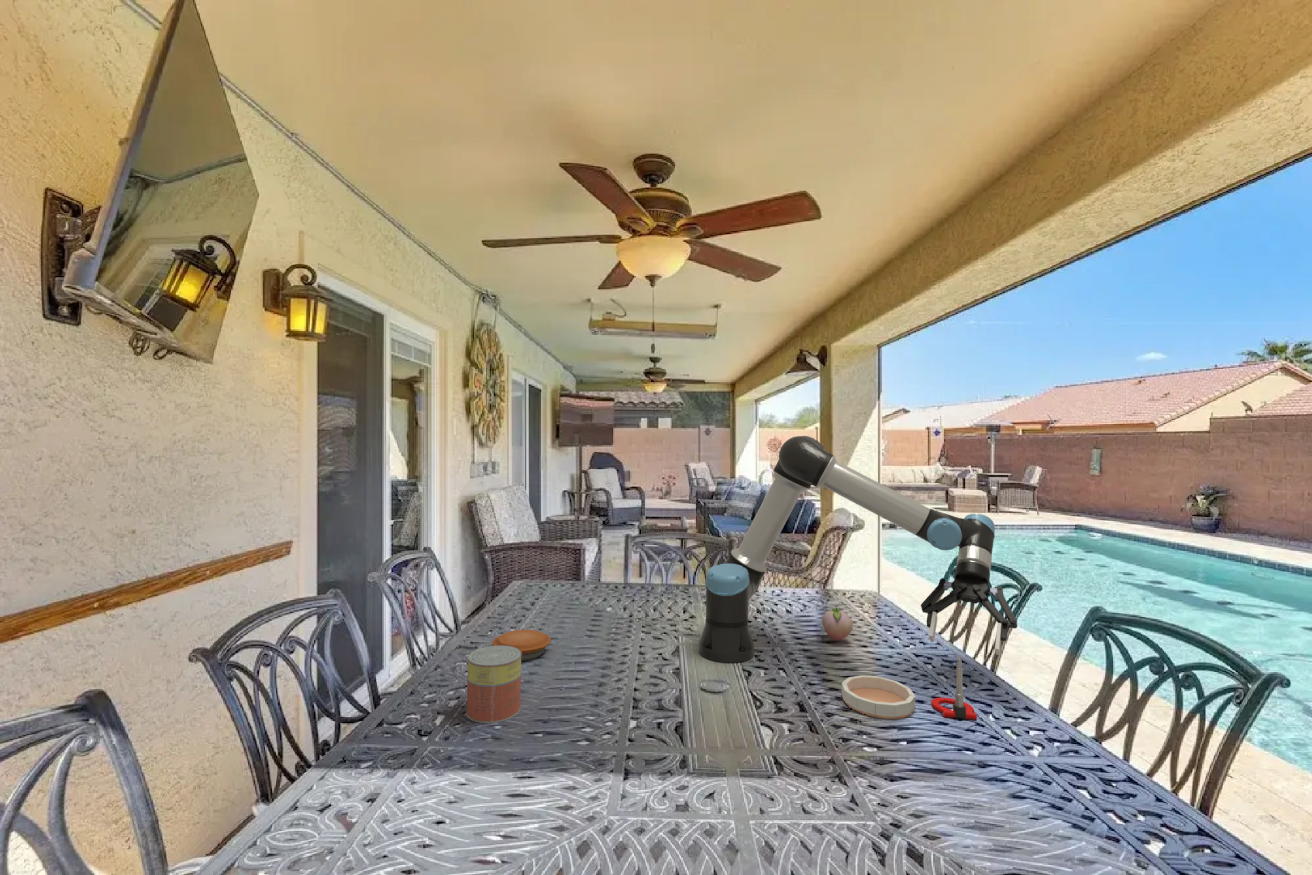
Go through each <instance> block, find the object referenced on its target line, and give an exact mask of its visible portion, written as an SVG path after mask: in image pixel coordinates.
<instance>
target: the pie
mask: <svg viewBox="0 0 1312 875" xmlns="http://www.w3.org/2000/svg"><path fill="white" fill-rule="evenodd" d="M551 641H552V639H551V637H550V635H549V634H547V633H544V632H542V631H540V630H539V631H538V630H534V629H516V630H512V631H507V632H504V633H502V634H501V635H499V636H497V637H495V638H494V639H493V641H492V642H491V643H492V644H491V646H497V645H504V646H512V647H515V648H518V649H519V650H520V651H521V652H522V655H521V662H526V661H531V660H534V659H537V658H538V657H540V656H541V655H542V654H543V653H544V651H545V649H546V648H547V647H548V645H549V644H550V642H551Z"/></svg>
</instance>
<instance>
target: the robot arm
mask: <svg viewBox="0 0 1312 875" xmlns="http://www.w3.org/2000/svg"><path fill="white" fill-rule="evenodd" d="M772 472H773V475H774V479H773V481H772V483H771V485H770V487H769V489H768V492H767V493H766V495H765V496H764V498H763V501H762V503H761V505H760V507H759V509H757V510H758V511H757V512H756V514H755V516H754V518H753V520H752V521H751V524H750V526H749V527H748V529H747V531H746V534H745V535H744V537H743V539H742V541H741V543H740V545H739V547H738V548H735V549H732V550H731V551H730V553H729V554H728V557H727V559H726V560H725V563H720V564H715V565H713V566H711V567H710V568H709V569H708V570H707V572H706V578H705V585H706V587H705V589H706V590H705V596H706V597H705V625H704V627H703V630H702V633H701V636H700V640H699V642H698V643H699V644H698V652H699V654H700V655H701V656H702V657H704V658H706V659H708V660H712V661H715V662H719V663H741V662H746V661H749V660H751V659H753V657H754V655H755V646H754V645H755V644H754V641H753V639H752V635H751V632H750V629H749V601H751V599H752V597H753V596H754V595H755V594H756V593H757V592H758V590H759V588H760V584H761V581H762V580H763V578H764V575H765V574H766V571H767V566H766V561H767V559H768V557H769V555H770V552H771V551H772V549H773V548H774V546H775V544H776V541H777V539H778V538H779V536H780V534H781V532H782V530H783V529H784V526H785V525H786V523H787V521H788V519H789V517H790V515H791V513H792V512H793V509H794V508H795V506H796V504H797V502H798V500H799V499H800V497H801V494H802V493H803V492H806V491H808V490H810V489H811V487H815V488H818V489H819V488H821V487H822V488H825V489H827V490H829V491H831V492H833V493H835V494H836V495H838V496H840V497H843V498H845V499H846V500H848V501H850V502H852V503H854V504H855V505H857V506H860V507H862V508H864V509H865V510H867V511H869V512H871V513H873V514H874V515H876V516H879V517H880V518H882V519H883V520H886V521H888V522H889V523H892V524H894V525H895V526H898V527H899V528H901V529H903V530H905V531H907V532H909V533H910V534H913V535H914V536H917V537H918V538H920V539H921V540H924V541H926V542H927V543H929V544H930V545H931V546H932V547H934V548H936V549H937V550H941V551H951V550H954V549H956V548H958V554H957V559H956V560H957V561H956V567H955V574H954V580H952V582H950V581H947V580H946V579H945V578H942V577H941V578H940V579H939V582H938V585H937V586H936V587H935V588H934V589H933V591H931V593H930V594H929V595H928V596H927V597H926V598H925V600H924V601H922V603H921V604H920V608H921V611H922V613H924V614H927V616H926V626H927V627H928V628H929V632H928V638H929V641H930V642H932V643H934V642H935V637H936V632H937V631H936V629H937V625H938V624H937V623H938V614H939V613H942V611H944V610H945V609H947V608H948V607H950V606H951V605H953V604H954V603H957V602H958V603H959V601H961V602H963V603H971V604H975V605H976V604H979V603H980V604H981V605H982V607H983V608H984V609H986V610H987V612H988V613H989V614H990V615H991V616H992V617H993V619H994V620H995V621H996V622H997V624H996V633H995V634H996V636H995V647H994V650H995V655H998V656H1000V654H1001V647H1002V646H1001V645H1002V641H1003V642H1006V641H1007V639H1008V631H1009V629H1017V628H1018V620H1017V618H1016V616H1015V614H1014V612H1013V610H1012V609H1011V607H1010V605H1009V603H1008V601H1007V600H1006V597H1005V595H1004V590H1003V587H1002V586H1000V585H999V586H997V587H990V579H991V569H992V559H993V556H992V555H993V549H994V548H993V547H994V541H995V535H996V534H995V528H996V527H995V523H994V521H993V520H992V519H991V518H990V517H989V516H987V515H985V514H982V513H978V514H976V513H970V514H966V515H965V517H964V518H962V517H958V516H954V515H951V514H948V513H945V512H942V511H938V510H934V509H933V508H929V507H928V506H925V505H923V504H921V503H919V502H917V501H915V500H913V499H911V498H909V497H908V496H906V495H904V494H902V493H899V492H898V491H895V490H893V489H891V488H890V487H889V486H886V485H884V484H883V483H880V482H878V481H877V480H874V479H872V478H871V477H869V476H867V475H864V474H863V473H861V472H859V471H857V470H855V469H854V468H851V467H850V466H847V465H845V464H844V463H841V462H839V461H837V458H836V455H834V454H832V453H830V452H828V451H826V450H825V449H824V447H823V445H822V443H821V442H819V440H816V438H814V437H811V436H809V435H798V436H792V437H789V439H787V440H786V441H785V442H784V443H783V444H782V445H781V447H780V449H779V452H778V460H777V462H776V464H775V466H774V468H773V469H772ZM949 589H952V590H951V591H950V592H949V593H948V594H947V595H945V596H944V597H942V596H943V595H944V593H945V591H948V590H949ZM990 595H993V597H994V598H995V599H997V601H998V604H999V606H1000V608H1001V609H1002V611H1003V614H1004V615H1005V617H1006V618H1005V617H1004V615H1002V613H1001V612H1000V611H999V610H998V609H997V607H996V606H995V605H994V604H993V603H992V602H991V601H990V599H989V596H990ZM941 597H942V598H941ZM940 598H941V599H940ZM939 599H940V600H939Z"/></svg>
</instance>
